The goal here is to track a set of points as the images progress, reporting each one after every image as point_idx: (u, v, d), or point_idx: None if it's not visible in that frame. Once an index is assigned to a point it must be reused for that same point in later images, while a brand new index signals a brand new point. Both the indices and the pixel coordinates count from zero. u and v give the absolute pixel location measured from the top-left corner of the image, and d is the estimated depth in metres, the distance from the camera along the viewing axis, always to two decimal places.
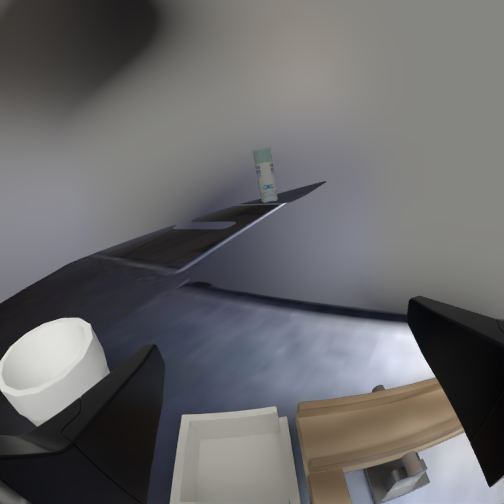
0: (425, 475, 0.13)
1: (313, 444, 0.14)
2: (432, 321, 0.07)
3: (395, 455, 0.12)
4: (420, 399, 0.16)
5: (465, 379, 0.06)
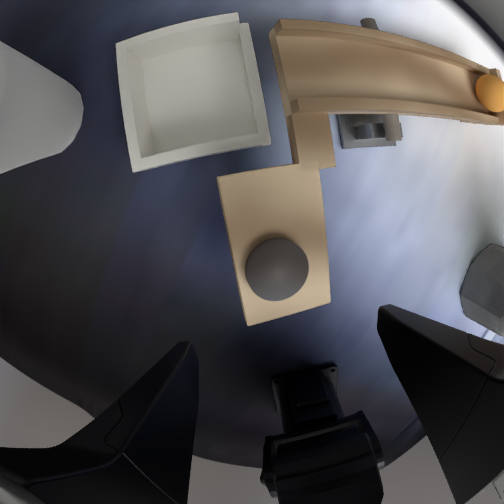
0: None
1: (295, 74, 0.12)
2: (399, 332, 0.07)
3: (381, 112, 0.13)
4: (413, 58, 0.13)
5: (432, 395, 0.06)
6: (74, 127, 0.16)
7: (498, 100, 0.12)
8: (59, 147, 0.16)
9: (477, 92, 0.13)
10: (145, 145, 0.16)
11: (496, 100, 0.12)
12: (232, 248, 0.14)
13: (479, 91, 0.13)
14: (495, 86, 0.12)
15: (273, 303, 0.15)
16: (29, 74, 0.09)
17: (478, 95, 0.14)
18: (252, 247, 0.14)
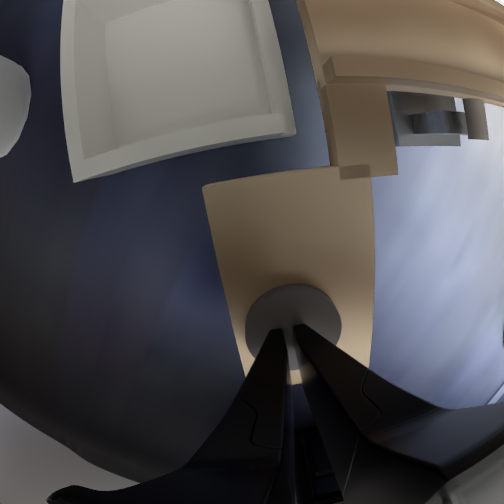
0: None
1: (330, 24, 0.06)
2: (301, 356, 0.07)
3: (462, 94, 0.07)
4: (495, 26, 0.05)
5: (328, 430, 0.06)
6: (16, 120, 0.10)
7: None
8: None
9: None
10: (96, 138, 0.10)
11: None
12: (226, 295, 0.09)
13: None
14: None
15: None
16: None
17: None
18: (257, 295, 0.09)
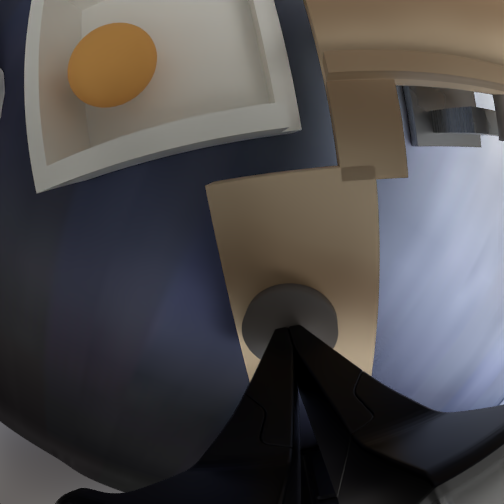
0: None
1: (332, 17, 0.06)
2: (296, 357, 0.07)
3: (489, 89, 0.05)
4: None
5: (321, 431, 0.06)
6: None
7: (150, 71, 0.07)
8: None
9: (101, 52, 0.06)
10: (64, 139, 0.08)
11: (150, 69, 0.07)
12: (228, 288, 0.10)
13: (113, 46, 0.06)
14: None
15: None
16: None
17: (99, 59, 0.06)
18: (256, 291, 0.09)
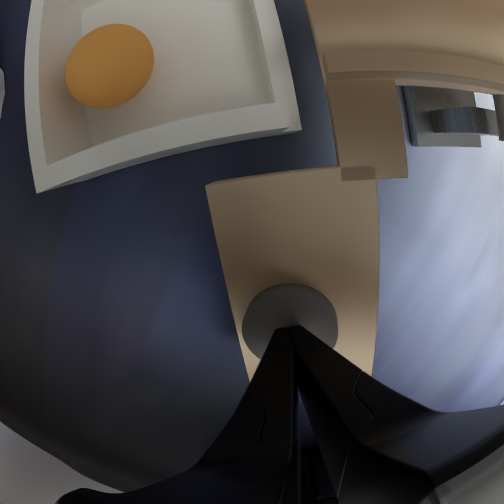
0: None
1: (332, 17, 0.06)
2: (296, 357, 0.07)
3: (489, 89, 0.05)
4: None
5: (321, 431, 0.06)
6: None
7: (146, 72, 0.07)
8: None
9: (94, 54, 0.06)
10: (64, 139, 0.08)
11: (145, 69, 0.07)
12: (228, 288, 0.10)
13: (106, 48, 0.06)
14: None
15: None
16: None
17: (92, 61, 0.06)
18: (256, 291, 0.09)
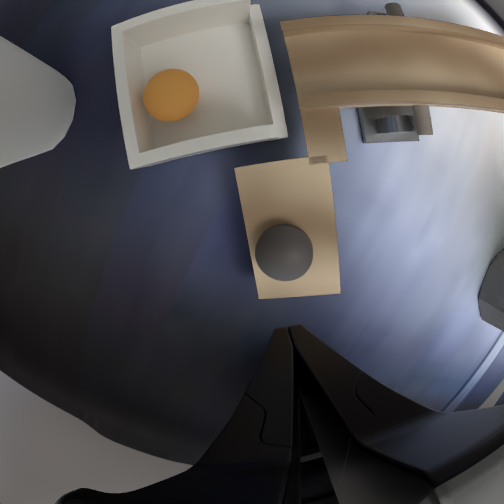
0: None
1: (304, 72, 0.12)
2: (296, 357, 0.07)
3: (403, 103, 0.12)
4: (446, 42, 0.09)
5: (322, 431, 0.06)
6: (65, 121, 0.14)
7: (196, 101, 0.14)
8: (49, 143, 0.14)
9: (166, 91, 0.12)
10: (144, 138, 0.14)
11: (195, 100, 0.14)
12: (246, 228, 0.16)
13: (173, 88, 0.12)
14: (195, 82, 0.13)
15: (282, 283, 0.17)
16: (13, 60, 0.07)
17: (165, 95, 0.12)
18: (263, 230, 0.16)
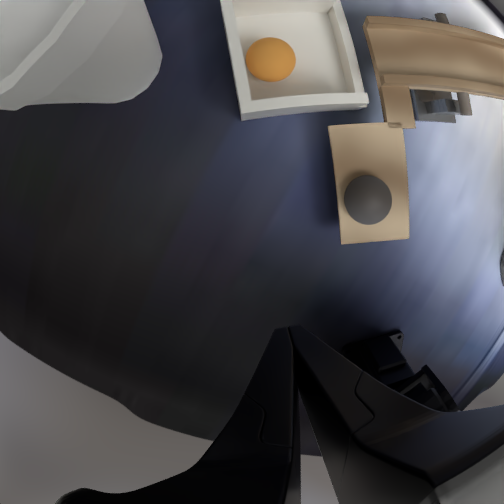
0: (453, 114, 0.17)
1: (383, 57, 0.14)
2: (296, 357, 0.07)
3: (452, 89, 0.13)
4: (480, 46, 0.11)
5: (321, 431, 0.06)
6: (154, 71, 0.16)
7: None
8: (135, 90, 0.15)
9: (274, 53, 0.14)
10: None
11: (294, 66, 0.15)
12: (336, 178, 0.17)
13: (280, 51, 0.14)
14: None
15: (363, 228, 0.18)
16: None
17: (273, 56, 0.14)
18: (351, 179, 0.17)
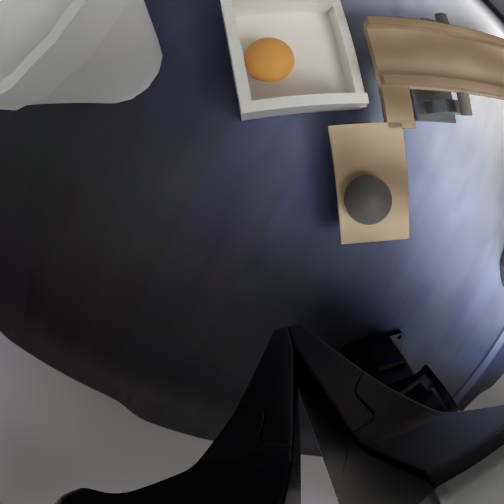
0: (453, 114, 0.17)
1: (383, 57, 0.14)
2: (296, 357, 0.07)
3: (452, 89, 0.13)
4: (480, 46, 0.11)
5: (322, 431, 0.06)
6: (154, 71, 0.16)
7: (292, 67, 0.15)
8: (135, 90, 0.15)
9: (271, 53, 0.14)
10: None
11: (292, 65, 0.15)
12: (336, 178, 0.17)
13: (277, 52, 0.14)
14: None
15: (363, 228, 0.18)
16: None
17: (270, 57, 0.14)
18: (351, 179, 0.17)
